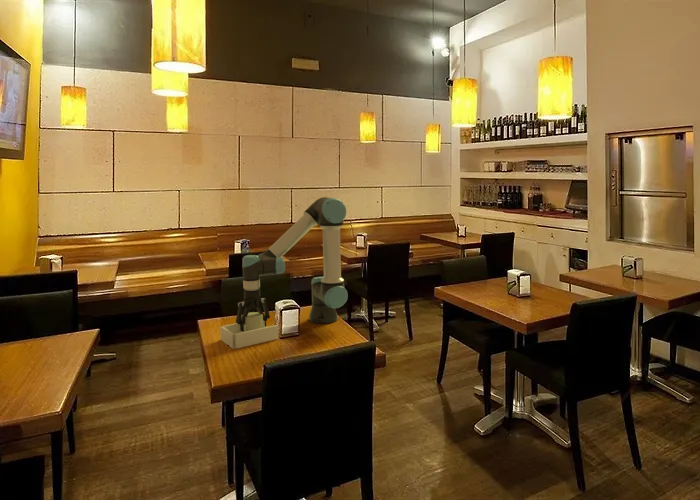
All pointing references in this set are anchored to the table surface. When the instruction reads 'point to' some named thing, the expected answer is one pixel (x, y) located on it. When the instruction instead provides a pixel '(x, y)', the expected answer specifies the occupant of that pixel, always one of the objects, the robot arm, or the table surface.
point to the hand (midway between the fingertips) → (253, 335)
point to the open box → (247, 335)
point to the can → (254, 321)
